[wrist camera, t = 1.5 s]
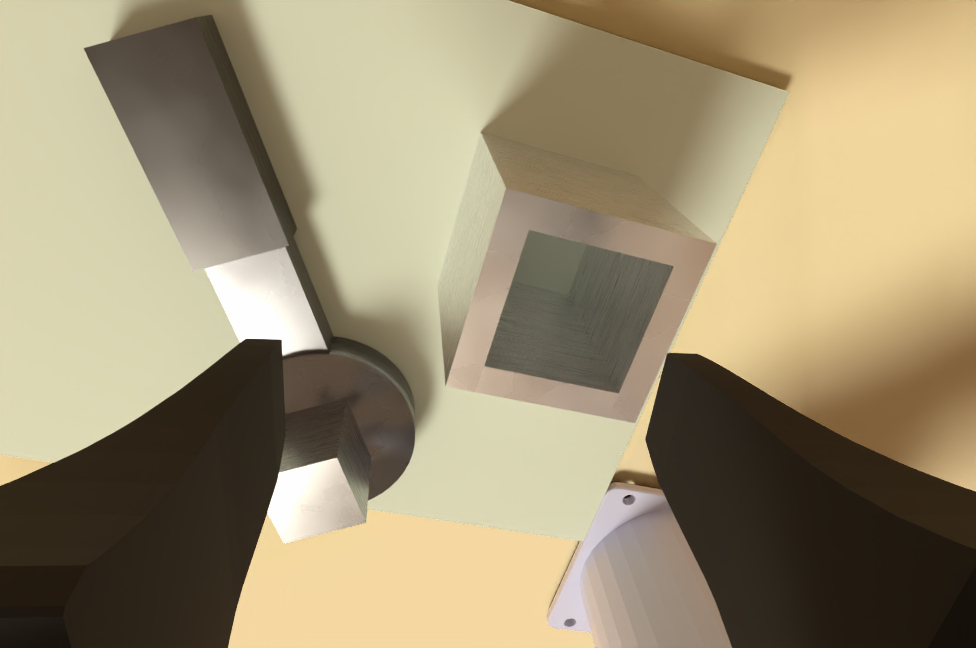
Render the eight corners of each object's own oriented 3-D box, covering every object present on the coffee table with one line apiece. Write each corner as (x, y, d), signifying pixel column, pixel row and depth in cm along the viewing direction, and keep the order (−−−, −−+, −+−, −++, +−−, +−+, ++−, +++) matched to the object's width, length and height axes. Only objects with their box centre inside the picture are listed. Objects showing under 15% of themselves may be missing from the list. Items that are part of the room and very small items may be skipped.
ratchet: (49, 59, 17) (-59, 82, 13) (271, -2, 17) (228, 2, 13) (277, 498, 25) (251, 597, 21) (435, 457, 24) (439, 549, 20)
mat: (781, 89, 20) (789, 91, 20) (580, 532, 28) (583, 541, 27) (-40, -178, 15) (-54, -184, 15) (-17, 441, 23) (-25, 450, 22)
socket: (637, 175, 20) (717, 243, 15) (582, 318, 22) (635, 422, 17) (480, 131, 19) (506, 188, 14) (437, 286, 21) (445, 386, 16)
